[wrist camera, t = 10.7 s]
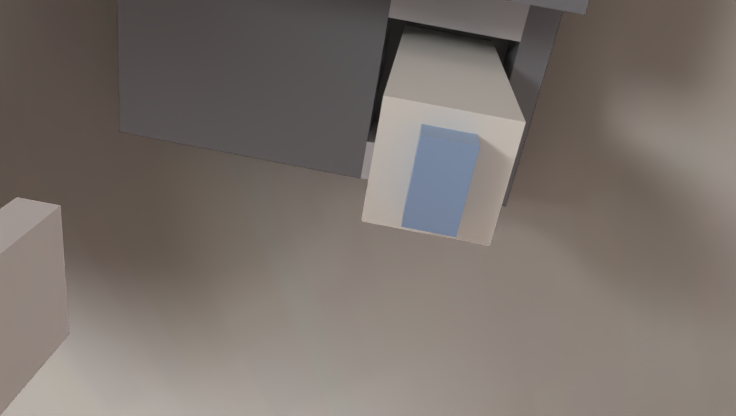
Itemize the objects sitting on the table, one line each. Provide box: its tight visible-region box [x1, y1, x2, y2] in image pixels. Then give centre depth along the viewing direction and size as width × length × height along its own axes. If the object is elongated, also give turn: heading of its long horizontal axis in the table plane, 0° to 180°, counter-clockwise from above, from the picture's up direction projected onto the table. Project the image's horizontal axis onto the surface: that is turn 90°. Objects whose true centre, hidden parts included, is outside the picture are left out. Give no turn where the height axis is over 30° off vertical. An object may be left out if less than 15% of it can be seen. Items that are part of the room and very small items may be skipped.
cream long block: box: [361, 25, 526, 246], centre depth 23 cm, size 4×4×13 cm
